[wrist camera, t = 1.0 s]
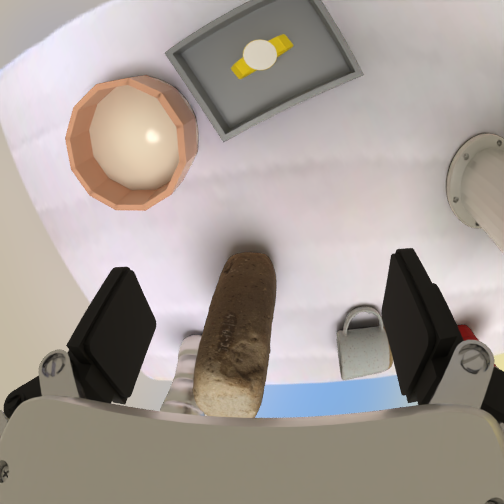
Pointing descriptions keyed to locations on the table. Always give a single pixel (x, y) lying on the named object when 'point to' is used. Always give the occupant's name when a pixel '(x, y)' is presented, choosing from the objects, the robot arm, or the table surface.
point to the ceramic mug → (363, 348)
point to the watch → (261, 55)
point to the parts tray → (272, 79)
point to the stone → (236, 339)
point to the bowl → (132, 141)
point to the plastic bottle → (184, 380)
